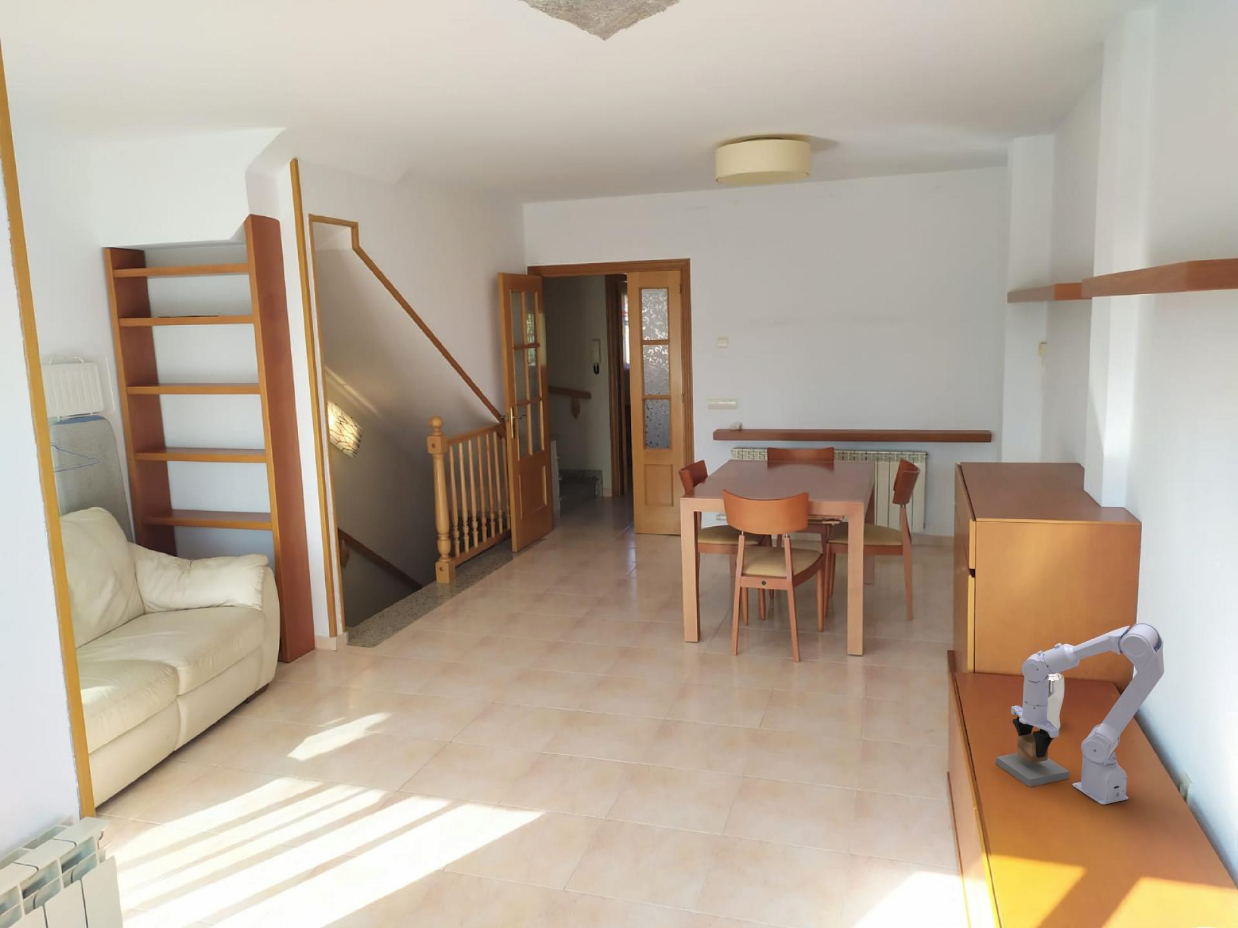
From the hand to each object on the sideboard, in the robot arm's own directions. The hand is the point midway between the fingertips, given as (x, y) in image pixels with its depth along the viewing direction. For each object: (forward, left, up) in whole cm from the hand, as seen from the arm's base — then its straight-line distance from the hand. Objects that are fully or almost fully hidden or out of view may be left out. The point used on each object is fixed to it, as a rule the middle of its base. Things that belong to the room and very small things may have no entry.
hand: (1032, 751), depth 226 cm
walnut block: (0, 0, -2) cm, 2 cm away
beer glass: (+19, -22, -6) cm, 30 cm away
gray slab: (0, 0, -6) cm, 6 cm away
